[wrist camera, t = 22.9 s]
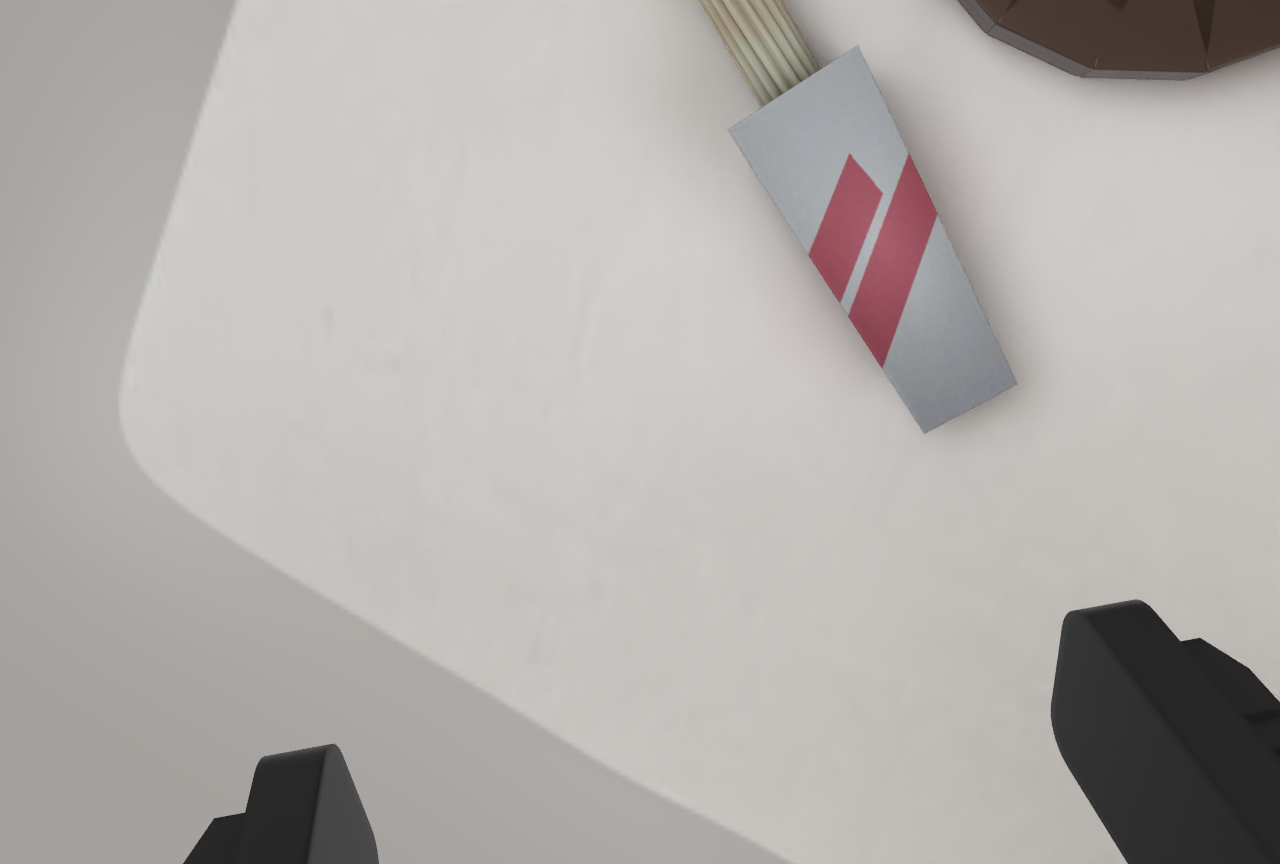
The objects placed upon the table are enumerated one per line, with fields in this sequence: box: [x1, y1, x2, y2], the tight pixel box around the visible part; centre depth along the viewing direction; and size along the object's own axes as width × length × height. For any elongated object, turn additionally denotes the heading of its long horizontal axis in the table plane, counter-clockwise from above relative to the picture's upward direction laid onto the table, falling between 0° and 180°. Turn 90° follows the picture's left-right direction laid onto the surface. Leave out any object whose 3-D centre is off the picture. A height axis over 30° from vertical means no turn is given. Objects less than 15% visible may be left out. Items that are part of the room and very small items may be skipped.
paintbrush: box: [699, 0, 1017, 434], centre depth 27 cm, size 4×3×20 cm
